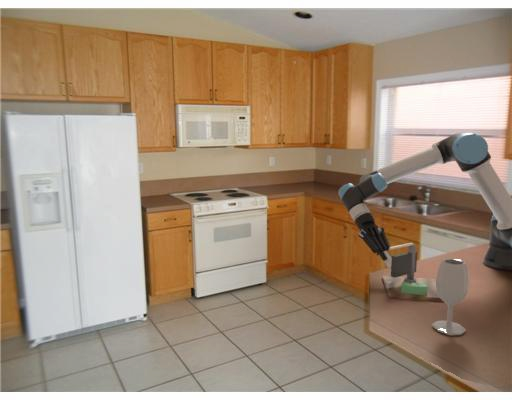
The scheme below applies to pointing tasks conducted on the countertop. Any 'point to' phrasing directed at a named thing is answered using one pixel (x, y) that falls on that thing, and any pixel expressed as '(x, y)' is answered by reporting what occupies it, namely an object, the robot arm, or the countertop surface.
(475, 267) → the countertop surface
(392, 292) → the brown square base board
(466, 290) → the wineglass
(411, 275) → the signpost stand
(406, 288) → the gauge marks
